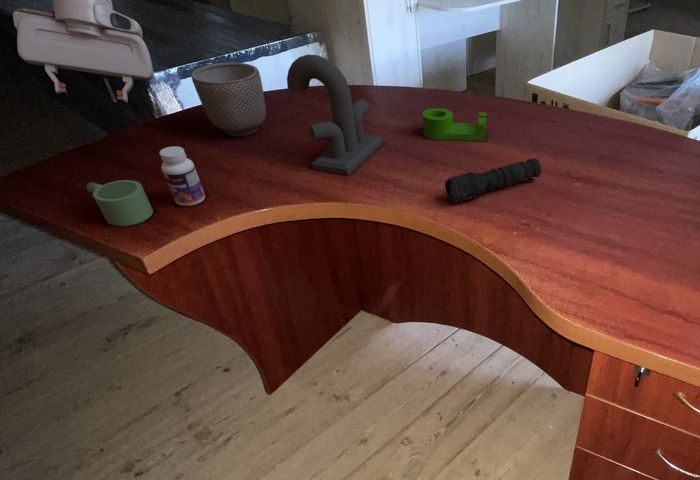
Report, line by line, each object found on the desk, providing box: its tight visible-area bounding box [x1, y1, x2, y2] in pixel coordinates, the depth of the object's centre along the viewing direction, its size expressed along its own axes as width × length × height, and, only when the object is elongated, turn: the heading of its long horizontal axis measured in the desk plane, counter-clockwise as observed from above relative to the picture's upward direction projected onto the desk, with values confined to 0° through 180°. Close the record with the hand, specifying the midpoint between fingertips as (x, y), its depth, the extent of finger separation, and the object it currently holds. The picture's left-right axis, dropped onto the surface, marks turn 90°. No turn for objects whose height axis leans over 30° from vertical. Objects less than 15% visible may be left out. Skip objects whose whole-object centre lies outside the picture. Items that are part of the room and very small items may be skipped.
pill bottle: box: [158, 145, 206, 207], centre depth 100 cm, size 5×5×10 cm
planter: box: [191, 61, 267, 137], centre depth 122 cm, size 14×14×13 cm
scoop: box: [86, 179, 154, 227], centre depth 97 cm, size 12×8×5 cm, turn 65°
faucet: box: [286, 54, 384, 176], centre depth 114 cm, size 18×16×20 cm
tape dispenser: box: [422, 107, 487, 142], centre depth 129 cm, size 15×7×5 cm, turn 89°
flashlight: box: [444, 157, 542, 204], centre depth 109 cm, size 5×21×5 cm, turn 123°
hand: (92, 97), depth 102 cm, fingers open, 8 cm apart
